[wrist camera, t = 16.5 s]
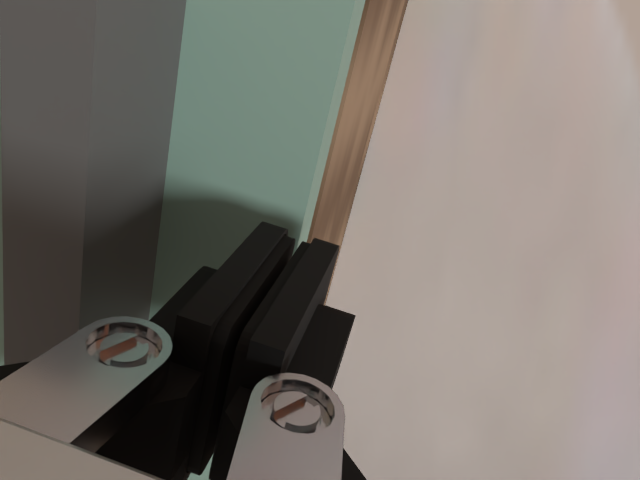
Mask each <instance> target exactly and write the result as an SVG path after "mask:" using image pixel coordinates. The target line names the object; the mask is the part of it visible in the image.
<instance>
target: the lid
mask: <svg viewBox="0 0 640 480" xmlns="http://www.w3.org/2000/svg"><path fill="white" fill-rule="evenodd" d="M364 4H365V0H0V366H3V365H9V364H16V363H22V362H29V361H32V360H34V359H35V358H37V357H39V356H40V355H42V354H43V353H45V352H46V351H48V350H50V349H51V348H53V347H54V346H56V345H57V344H59V343H61V342H62V341H64V340H65V339H67V338H68V337H70V336H72V335H73V334H75V333H76V332H78V331H79V330H81V329H83V328H84V327H86V326H87V325H89V324H92V323H94V322H96V321H98V320H101V319H106V318H110V317H125V316H128V317H135V318H142V319H144V320H147V321H149V320H150V319H151V318H152V317H153V316H154V315H155V314H156V313H157V312H158V311H159V310H160V309H161V308H162V307H163V306H164V305H165V304H166V303H167V302H168V301H169V300H170V299H171V298H172V297H173V296H174V294H175V293H176V292H177V291H178V290H179V289H180V288H181V287H182V286H183V285H184V284H185V283H186V282H187V281H188V280H189V279H190V278H191V277H192V276H193V275H194V274H195V273H196V272H197V271H198V270H199V269H200V268H202V267H203V266H208V267H211V268H214V269H217V270H218V269H219V268H220V267H221V266H222V265H223V263H224V262H225V261H226V260H227V259H228V258H229V257H230V256H231V255H232V254H233V252H234V251H235V250H236V249H237V248H238V247H239V246H240V245H241V244H242V243H243V241H244V240H245V239H246V238H247V237H248V236H249V235H250V234H251V233H252V232H253V231H254V229H255V228H256V227H257V226H258V225H259V224H260V223H261V222H262V221H264V222H267V223H270V224H273V225H276V226H279V227H283V228H286V229H288V237H291V238H294V239H295V246H294V250H293V254H294V253H295V251H296V250H297V248H298V247H299V245H300V244H301V242H302V241H304V242H307V239H308V235H309V231H310V227H311V222H312V218H313V214H314V210H315V206H316V202H317V198H318V194H319V190H320V185H321V181H322V177H323V173H324V169H325V165H326V161H327V157H328V152H329V148H330V144H331V140H332V136H333V132H334V128H335V124H336V120H337V115H338V111H339V107H340V103H341V99H342V95H343V91H344V87H345V82H346V78H347V74H348V70H349V66H350V62H351V58H352V54H353V50H354V45H355V41H356V37H357V33H358V29H359V25H360V21H361V17H362V12H363V8H364ZM293 254H292V256H293ZM212 458H213V455H212V457H211V459H210V461H209V462H208V464H207V466H206V468H205V470H204V471H203V473H202V474H201V475H200V476H199V475H196V474H194V473H191V474H190V475H189V477H188V479H187V480H210V479H209V472H210V467H211V463H212Z"/></svg>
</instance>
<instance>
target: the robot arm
mask: <svg viewBox="0 0 640 480" xmlns="http://www.w3.org/2000/svg"><path fill="white" fill-rule="evenodd" d="M294 246H295V239H294V238H291V237H288V229H286V228H283V227H279V226H276V225H273V224H270V223H267V222H264V221H262V222H261V223H260V224H259V225H258V226H257V227H256V228H255V229H254V231H253V232H252V233H251V234H250V235H249V236H248V237H247V238H246V239H245V240H244V241H243V243H242V244H241V245H240V246H239V247H238V248H237V249H236V250H235V251H234V252H233V254H232V255H231V256H230V257H229V258H228V259H227V260H226V261H225V262H224V263H223V265H222V266H221V267H220V268H219V269H218V270H217V269H214V268H211V267H208V266H203V267H202V268H200V269H199V270H198V271H197V272H196V273H195V274H194V275H193V276H192V277H191V278H190V279H189V280H188V281H187V282H186V283H185V284H184V285H183V286H182V287H181V288H180V289H179V290H178V291H177V292H176V293H175V294H174V296H173V297H172V298H171V299H170V300H169V301H168V302H167V303H166V304H165V305H164V306H163V307H162V308H161V309H160V310H159V311H158V312H157V313H156V314H155V315H154V316H153V317H152V318H151V319H150V320H149V321H147V320H144V319H142V318H135V317H128V316H125V317H110V318H106V319H101V320H98V321H96V322H94V323H92V324H89V325H87V326H86V327H84V328H83V329H81V330H79V331H78V332H76V333H75V334H73V335H72V336H70V337H68V338H67V339H65V340H64V341H62V342H61V343H59V344H57V345H56V346H54V347H53V348H51V349H50V350H48V351H46V352H45V353H43V354H42V355H40V356H39V357H37V358H35V359H34V360H32V361H29V362H22V363H16V364H9V365H3V366H0V480H187V479H188V477H189V475H190V474H191V473H194V474H196V475H199V476H200V475H201V474H202V473H203V471H204V470H205V468H206V466H207V464H208V462H209V461H210V459H211V457H212V455H213V458H212V463H211V467H210V472H209V479H210V480H366V478H365V477H364V476H363V474H362V473H361V472H360V470H359V469H358V467H357V466H356V465H355V463H354V462H353V461H352V459H351V458H350V457H349V455H348V454H347V452H346V451H345V450H344V448H343V441H344V424H345V413H344V407H343V404H342V402H341V401H340V399H339V397H338V395H337V394H336V393H335V392H334V391H333V390H332V388H333V385H334V382H335V379H336V376H337V373H338V370H339V367H340V363H341V360H342V357H343V354H344V351H345V348H346V344H347V341H348V338H349V335H350V332H351V328H352V325H353V322H354V319H355V315H353V314H350V313H346V312H343V311H340V310H337V309H334V308H331V307H328V306H325V305H324V302H325V299H326V295H327V291H328V288H329V284H330V281H331V277H332V274H333V270H334V267H335V263H336V260H337V256H338V252H339V247H340V246H339V245H336V244H333V243H330V242H327V241H323V240H320V239H317V238H314V239H313V240H312V242H311V243H307V242H304V241H302V242H301V244H300V245H299V247H298V248H297V250H296V251H295V253H294V254H293V250H294ZM292 254H293V256H292Z"/></svg>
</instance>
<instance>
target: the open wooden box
mask: <svg viewBox="0 0 640 480" xmlns="http://www.w3.org/2000/svg"><path fill="white" fill-rule="evenodd" d="M407 3H408V0H365V4H364V8H363V12H362V17H361V21H360V25H359V29H358V33H357V37H356V41H355V45H354V50H353V54H352V58H351V62H350V66H349V70H348V74H347V78H346V82H345V87H344V91H343V95H342V99H341V103H340V107H339V111H338V115H337V120H336V124H335V128H334V132H333V136H332V140H331V144H330V148H329V152H328V157H327V161H326V165H325V169H324V173H323V177H322V181H321V185H320V190H319V194H318V198H317V202H316V206H315V210H314V214H313V218H312V222H311V227H310V231H309V235H308V239H307V243H311V242H312V240H313V239H314V238H317V239H320V240H323V241H327V242H330V243H333V244H336V245H339V246H340V247H339V252H340V248H341V245H342V241H343V237H344V234H345V230H346V226H347V223H348V219H349V215H350V212H351V208H352V204H353V201H354V197H355V193H356V190H357V186H358V182H359V179H360V175H361V171H362V168H363V164H364V160H365V157H366V153H367V149H368V146H369V142H370V138H371V135H372V131H373V127H374V124H375V120H376V116H377V113H378V109H379V105H380V102H381V98H382V94H383V91H384V87H385V83H386V80H387V76H388V72H389V69H390V65H391V61H392V58H393V54H394V50H395V47H396V43H397V39H398V36H399V32H400V28H401V25H402V21H403V17H404V14H405V10H406V6H407ZM339 252H338V256H339ZM338 256H337V259H338ZM336 263H337V260H336ZM336 263H335V267H336ZM335 267H334V270H335ZM334 270H333V274H334ZM333 274H332V277H331V281H332V278H333ZM331 281H330V284H329V288H328V291H327V295H326V299H325V302H324V305H325V303H326V300H327V296H328V292H329V289H330V285H331Z"/></svg>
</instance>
